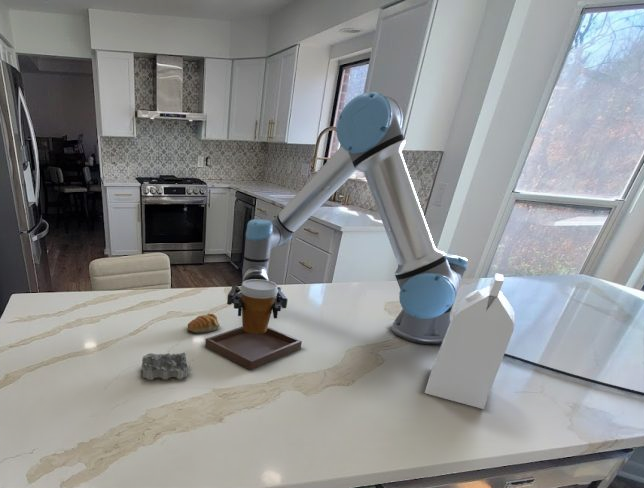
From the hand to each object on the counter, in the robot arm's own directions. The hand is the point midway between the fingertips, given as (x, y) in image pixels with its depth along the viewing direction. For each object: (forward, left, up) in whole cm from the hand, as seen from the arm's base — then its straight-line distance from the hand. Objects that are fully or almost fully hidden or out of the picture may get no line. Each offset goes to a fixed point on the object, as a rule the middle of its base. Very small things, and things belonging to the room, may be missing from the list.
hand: (257, 312), depth 104 cm
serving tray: (+3, -3, -12) cm, 13 cm away
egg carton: (+7, +24, -12) cm, 27 cm away
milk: (-40, -24, -12) cm, 49 cm away
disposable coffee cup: (+3, -3, -7) cm, 8 cm away
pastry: (+21, -1, -12) cm, 24 cm away
